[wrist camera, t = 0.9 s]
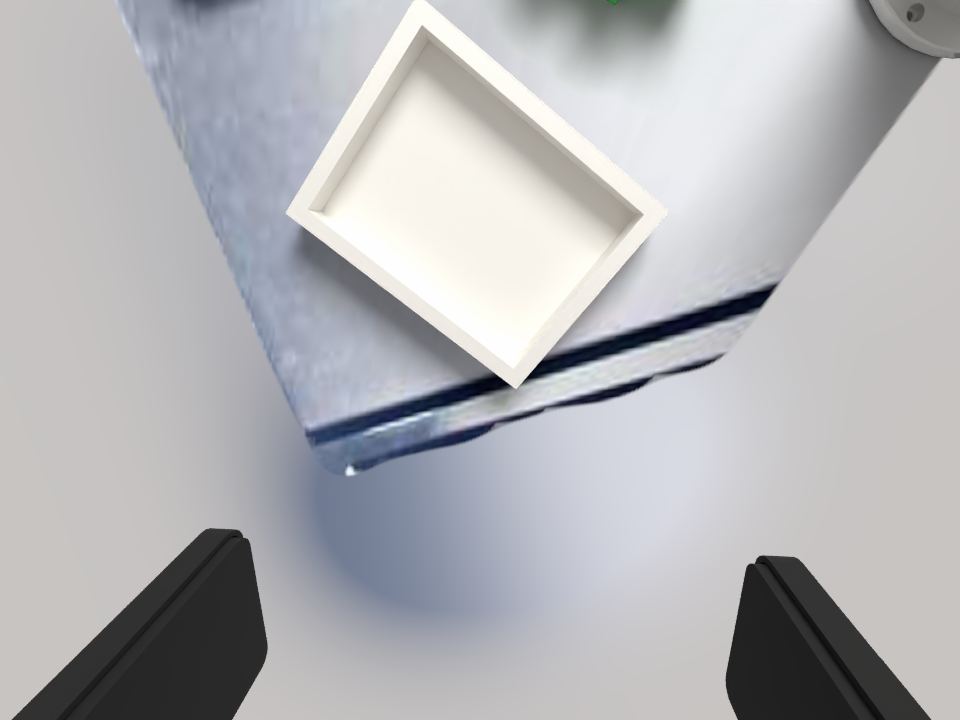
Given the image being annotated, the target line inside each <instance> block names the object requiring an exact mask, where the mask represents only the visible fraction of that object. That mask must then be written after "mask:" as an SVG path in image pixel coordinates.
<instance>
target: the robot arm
mask: <svg viewBox="0 0 960 720" xmlns="http://www.w3.org/2000/svg"><path fill="white" fill-rule="evenodd" d="M869 1H870V3H871V5H872V7H873V9H874V11H875V13H876V15H877V16H878V18H879V20H880V22H881V23H882V24H883V25H884V26H885V27H886V28H887V30H888V31H889V32H890V33H891V34H892V35H893V36H894V37H895V38H896V39H898V40H899V41H901V42H902V43H904V44H905V45H907V46H908V47H910V48H911V49H914V50H917V51H919V52H922V53H925V54H927V55H930V56H937V57H944V58H952V59H953V58H960V0H869ZM267 648H268V647H267V638H266V632H265V627H264V621H263V615H262V609H261V604H260V598H259V592H258V586H257V581H256V575H255V570H254V563H253V558H252V552H251V547H250V542H249V540H248V539H246V538H243V535H242V533H241V532H240V531H239V530H233V529H213V528H210V529H206V530H205V531H203V532H202V533H201V534H200V535H199V536H198V537H197V538H196V539H195V540H194V541H193V542H192V543H190V545H188V546H187V547H186V549H184V550H183V551H182V552H181V553H180V554H179V555H178V556H177V557H176V558H175V559H174V560H173V561H172V562H171V563H170V564H169V565H168V566H167V567H166V568H165V569H164V570H163V571H162V572H161V573H160V574H159V575H158V576H157V577H156V578H155V579H154V580H153V581H152V582H151V583H150V584H149V585H148V586H147V587H146V588H145V589H144V590H143V591H142V592H141V593H140V594H139V595H138V596H137V597H136V598H135V599H134V600H133V601H132V602H131V603H130V604H129V605H128V606H127V607H126V608H125V609H124V610H123V611H122V612H121V613H120V614H118V615H117V616H116V618H114V619H113V621H111V622H110V623H109V624H108V625H107V626H106V627H105V628H104V629H103V630H102V631H101V632H100V633H99V634H98V635H97V636H96V637H95V638H94V639H93V640H92V641H91V642H90V643H89V644H88V645H87V646H86V647H85V648H84V649H83V650H82V651H81V652H80V653H79V654H78V655H77V656H76V657H75V658H74V659H73V660H72V661H71V662H70V663H69V664H68V665H67V666H66V667H65V668H64V669H63V670H62V671H61V672H60V673H59V674H58V675H57V676H56V677H55V678H54V679H53V680H52V681H51V682H49V683H48V684H47V685H46V687H44V688H43V690H41V691H40V692H39V693H38V694H37V695H36V696H35V697H34V698H33V699H32V700H31V701H30V702H29V703H28V704H27V705H26V706H25V707H24V708H23V709H22V710H21V711H20V712H19V713H18V714H17V715H16V716H15V717H14V718H13V719H12V720H232V719H233V717H234V715H235V714H236V712H237V710H238V709H239V707H240V705H241V703H242V702H243V700H244V698H245V696H246V695H247V693H248V691H249V689H250V688H251V686H252V684H253V682H254V681H255V679H256V677H257V675H258V674H259V672H260V670H261V669H262V667H263V664H264V662H265V659H266V655H267ZM726 689H727V693H728V697H729V700H730V703H731V705H732V707H733V710H734V712H735V714H736V716H737V719H738V720H931V719H930V717H929V716H928V715H927V714H926V713H925V711H924V710H923V709H922V708H921V706H920V705H919V704H918V703H917V702H916V700H915V699H914V698H913V697H912V696H911V694H910V693H909V692H908V691H907V689H906V688H905V687H904V686H903V685H902V683H901V682H900V681H899V680H898V679H897V677H896V676H895V675H894V674H893V672H892V671H891V670H890V669H889V668H888V666H887V665H886V664H885V663H884V661H883V660H882V659H881V658H880V657H879V656H878V655H877V653H876V652H875V651H874V650H873V649H872V647H871V646H870V645H869V644H868V643H867V641H866V640H865V639H864V638H863V636H862V635H861V634H860V633H859V631H858V630H857V629H856V628H855V627H854V625H853V624H852V623H851V622H850V620H849V619H848V618H847V617H846V616H845V614H844V613H843V612H842V611H841V609H840V608H839V607H838V606H837V605H836V603H835V602H834V601H833V600H832V598H831V597H830V596H829V595H828V594H827V592H826V591H825V590H824V589H823V587H822V586H821V585H820V584H819V583H818V582H817V580H816V579H815V578H814V576H813V575H812V574H811V573H810V572H809V570H808V569H807V568H806V567H805V565H804V564H803V563H802V562H801V561H800V560H799V559H797V558H795V557H783V556H782V557H781V556H759V557H758V558H757V559H756V562H755V564H749V565H748V566H747V568H746V572H745V577H744V583H743V588H742V593H741V598H740V604H739V609H738V615H737V620H736V625H735V630H734V635H733V641H732V646H731V651H730V657H729V662H728V667H727V672H726Z"/></svg>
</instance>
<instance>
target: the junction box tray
mask: <svg viewBox="0 0 960 720" xmlns="http://www.w3.org/2000/svg"><path fill="white" fill-rule="evenodd" d="M668 213H669V210H667V209H666V208H665V207H664V206H663V205H662V204H660V203H659V202H658V201H657V200H656V199H655V198H654V197H652V196H651V195H650V194H649V193H648V192H647V191H645V190H644V189H643V188H642V187H641V186H640V185H638V184H637V183H636V182H635V181H634V180H633V179H631V178H630V177H629V176H628V175H627V174H626V173H624V172H623V171H622V170H621V169H620V168H619V167H618V166H616V165H615V164H614V163H613V162H612V161H611V160H609V159H608V158H607V157H606V156H605V155H604V154H602V153H601V152H600V151H599V150H598V149H597V148H595V147H594V146H593V145H592V144H591V143H590V142H589V141H587V140H586V139H585V138H584V137H583V136H582V135H580V134H579V133H578V132H577V131H576V130H575V129H573V128H572V127H571V126H570V125H569V124H568V123H566V122H565V121H564V120H563V119H562V118H561V117H560V116H558V115H557V114H556V113H555V112H554V111H553V110H551V109H550V108H549V107H548V106H547V105H546V104H544V103H543V102H542V101H541V100H540V99H539V98H537V97H536V96H535V95H534V94H533V93H532V92H531V91H529V90H528V89H527V88H526V87H525V86H524V85H522V84H521V83H520V82H519V81H518V80H517V79H515V78H514V77H513V76H512V75H511V74H510V73H508V72H507V71H506V70H505V69H504V68H503V67H502V66H500V65H499V64H498V63H497V62H496V61H495V60H493V59H492V58H491V57H490V56H489V55H488V54H486V53H485V52H484V51H483V50H482V49H481V48H479V47H478V46H477V45H476V44H475V43H474V42H473V41H471V40H470V39H469V38H468V37H467V36H466V35H464V34H463V33H462V32H461V31H460V30H459V29H457V28H456V27H455V26H454V25H453V24H452V23H450V22H449V21H448V20H447V19H446V18H445V17H444V16H442V15H441V14H440V13H439V12H438V11H437V10H435V9H434V8H433V7H432V6H431V5H430V4H428V3H427V2H426V1H425V0H414V1H413V3H412V4H411V6H410V8H409V9H408V11H407V13H406V14H405V16H404V18H403V19H402V21H401V23H400V24H399V26H398V28H397V29H396V31H395V33H394V34H393V36H392V38H391V39H390V41H389V43H388V44H387V46H386V48H385V49H384V51H383V52H382V54H381V56H380V57H379V59H378V61H377V62H376V64H375V66H374V67H373V69H372V71H371V72H370V74H369V76H368V77H367V79H366V81H365V82H364V84H363V86H362V87H361V89H360V91H359V92H358V94H357V96H356V97H355V99H354V101H353V102H352V104H351V105H350V107H349V109H348V110H347V112H346V114H345V115H344V117H343V119H342V120H341V122H340V124H339V125H338V127H337V129H336V130H335V132H334V134H333V135H332V137H331V139H330V140H329V142H328V144H327V145H326V147H325V149H324V150H323V152H322V153H321V155H320V157H319V158H318V160H317V162H316V163H315V165H314V167H313V168H312V170H311V172H310V173H309V175H308V177H307V178H306V180H305V182H304V183H303V185H302V187H301V188H300V190H299V192H298V193H297V195H296V197H295V198H294V200H293V202H292V203H291V205H290V206H289V208H288V210H287V211H286V214H287V215H288V216H290V217H291V218H292V219H294V220H295V221H296V222H298V223H299V224H300V225H302V226H303V227H304V228H305V229H307V230H308V231H309V232H311V233H312V234H313V235H315V236H316V237H317V238H319V239H320V240H321V241H323V242H324V243H325V244H326V245H328V246H329V247H330V248H332V249H333V250H334V251H336V252H337V253H338V254H340V255H341V256H342V257H343V258H345V259H346V260H347V261H349V262H350V263H351V264H353V265H354V266H355V267H357V268H358V269H359V270H361V271H362V272H363V273H364V274H366V275H367V276H368V277H370V278H371V279H372V280H374V281H375V282H376V283H378V284H379V285H380V286H381V287H383V288H384V289H385V290H387V291H388V292H389V293H391V294H392V295H393V296H395V297H396V298H397V299H398V300H400V301H401V302H402V303H404V304H405V305H406V306H408V307H409V308H410V309H412V310H413V311H414V312H416V313H417V314H418V315H419V316H421V317H422V318H423V319H425V320H426V321H427V322H429V323H430V324H431V325H433V326H434V327H435V328H436V329H438V330H439V331H440V332H442V333H443V334H444V335H446V336H447V337H448V338H450V339H451V340H452V341H453V342H455V343H456V344H457V345H459V346H460V347H461V348H463V349H464V350H465V351H467V352H468V353H469V354H471V355H472V356H473V357H474V358H476V359H477V360H478V361H480V362H481V363H482V364H484V365H485V366H486V367H488V368H489V369H490V370H491V371H493V372H494V373H495V374H497V375H498V376H499V377H501V378H502V379H503V380H505V381H506V382H507V383H509V384H510V385H511V386H512V387H514V388H515V389H517V388H518V387H519V385H520V384H521V383H522V382H523V381H524V380H525V378H526V377H527V376H528V375H529V374H530V373H531V372H532V370H533V369H534V368H535V367H536V366H537V365H538V363H539V362H540V361H541V360H542V359H543V358H544V356H545V355H546V354H547V353H548V352H549V351H550V349H551V348H552V347H553V346H554V345H555V344H556V342H557V341H558V340H559V339H560V338H561V337H562V336H563V334H564V333H565V332H566V331H567V330H568V329H569V327H570V326H571V325H572V324H573V323H574V322H575V320H576V319H577V318H578V317H579V316H580V315H581V313H582V312H583V311H584V310H585V309H586V308H587V307H588V305H589V304H590V303H591V302H592V301H593V300H594V298H595V297H596V296H597V295H598V294H599V293H600V291H601V290H602V289H603V288H604V287H605V286H606V284H607V283H608V282H609V281H610V280H611V279H612V278H613V276H614V275H615V274H616V273H617V272H618V271H619V269H620V268H621V267H622V266H623V265H624V264H625V262H626V261H627V260H628V259H629V258H630V257H631V255H632V254H633V253H634V252H635V251H636V250H637V249H638V247H639V246H640V245H641V244H642V243H643V242H644V240H645V239H646V238H647V237H648V236H649V235H650V233H651V232H652V231H653V230H654V229H655V228H656V226H657V225H658V224H659V223H660V222H661V221H662V220H663V218H664V217H665V216H666V215H667V214H668Z"/></svg>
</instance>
